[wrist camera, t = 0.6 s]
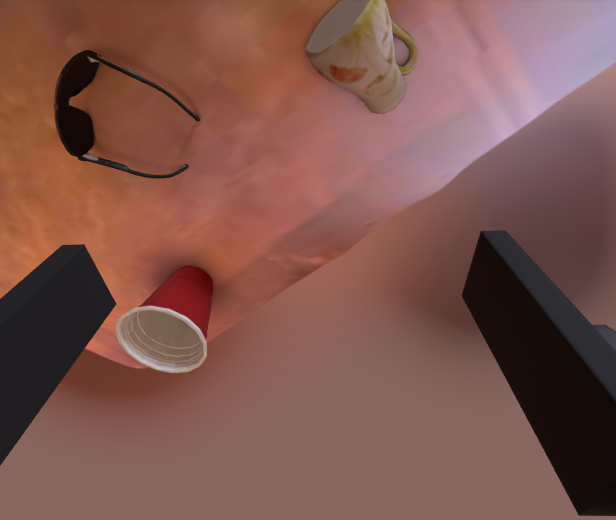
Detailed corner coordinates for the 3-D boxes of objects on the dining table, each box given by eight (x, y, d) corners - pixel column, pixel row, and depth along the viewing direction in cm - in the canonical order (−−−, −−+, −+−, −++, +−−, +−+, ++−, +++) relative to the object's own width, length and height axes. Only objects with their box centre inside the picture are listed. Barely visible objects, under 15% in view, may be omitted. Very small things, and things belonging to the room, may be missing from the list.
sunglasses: (80, 37, 31) (53, 42, 27) (208, 93, 35) (200, 105, 31) (76, 141, 36) (53, 158, 32) (186, 179, 40) (177, 198, 36)
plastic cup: (178, 235, 43) (138, 296, 34) (244, 279, 48) (225, 345, 38) (141, 281, 48) (96, 345, 38) (203, 317, 52) (177, 384, 43)
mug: (368, 130, 35) (330, 128, 27) (329, 45, 35) (277, 17, 26) (436, 87, 31) (415, 69, 23) (393, -11, 30) (355, -65, 22)
